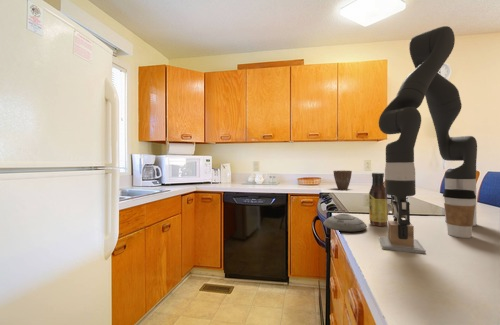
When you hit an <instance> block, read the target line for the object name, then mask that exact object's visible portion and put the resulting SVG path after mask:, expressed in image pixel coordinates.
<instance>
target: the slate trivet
mask: <svg viewBox="0 0 500 325" xmlns="http://www.w3.org/2000/svg"><path fill="white" fill-rule="evenodd" d="M379 240H380V246H381V249H382V250H388V251H389V250H390V251H395V252H396V251H397V252H406V253H413V254H415V253H416V254H425V255H426V250H425V248H424V247H423V245H422V244H421V242H420V241H419V240H418V239H415V238H414V246H404V245H394V244H391V243H390V241H389V239H388V236H381V235H380V236H379Z"/></svg>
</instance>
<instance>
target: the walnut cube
mask: <svg viewBox="0 0 500 325" xmlns="http://www.w3.org/2000/svg"><path fill="white" fill-rule="evenodd" d="M387 227H388V228H387V232H388V233H387V234H388V235H387V237H388V239H389V241H390V243H391V244H394V245H404V246H414V239H415V237H414V232H415V231H414V230H415V228H414V225H413V224H412V222H410V225H408V239H399V238H398V224H397V221H394V220H390V219H388V221H387Z"/></svg>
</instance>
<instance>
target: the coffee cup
mask: <svg viewBox="0 0 500 325" xmlns="http://www.w3.org/2000/svg"><path fill="white" fill-rule="evenodd" d="M442 197H444V203H443V206H444V211H445V214H446V222H445V223H446V228H447V235H448V236H451V237H455V238H460V239H463V238H464V239H470V238H472V236H473V227H474V226H473V219H474V210H475V205H474V202H475V199H476V200H477V194H476V195H475V192H474V191H472V190H462V189H445V188H444V189H443V193H442ZM445 214H444V215H445Z"/></svg>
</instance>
